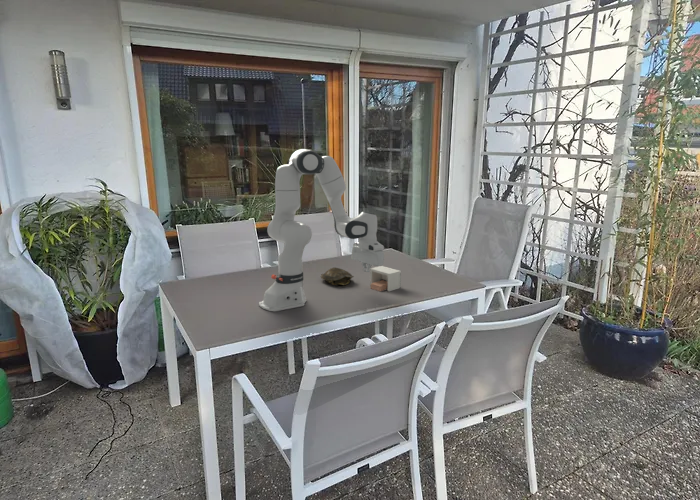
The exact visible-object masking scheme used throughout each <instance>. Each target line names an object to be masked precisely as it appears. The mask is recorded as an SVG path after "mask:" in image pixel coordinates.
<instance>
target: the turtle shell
mask: <svg viewBox="0 0 700 500" xmlns="http://www.w3.org/2000/svg"><path fill="white" fill-rule="evenodd" d="M354 277H355V276H354V275H352V274H351V273H350V272H349V271H347V270H345V269H342V268H339V267H332V268H330V269H328V270H326V271H325V272H324V273H322V274H320V279H322V280H323V281H326V282H327V283H329V284H331V285H335V286H337V285H339V286H340V285H341V286H345V285H348V284H349V283H350V282H351V279H353V278H354Z"/></svg>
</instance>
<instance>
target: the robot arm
mask: <svg viewBox="0 0 700 500" xmlns="http://www.w3.org/2000/svg"><path fill="white" fill-rule="evenodd" d="M303 175H315V176H316V178H317V179H318V182H319V185H320V186H321V189H322V191H323V193H324V195H325V197H326V200H327V203H328V205H329V207H330V211H331V213H332V216H333V219H334V220H333V221H334V224H333V225H334V227H333V228H334V230H335V233H336V234H337V235H338V236H341V237H344V238H348V239H350V240H356V239H358V241H355V242H354V243H352V249H351V260H353V261H355V262H356V261H357V262H359V263H361V266H362V268H363V269H362V271H363V272H366V273H370V269H371V267H374V266H375V267H379V266H384V263H385V252H384V250H385V246H384V245H383V244H382V243H380V242H379V241H378V238H377V232H378V217H377V214H375V213H374V212H369V211H361V212H360V213H359V214H358V215H356V216H353V217H350V216H349V215H348V214H347V212H346V210H345V207H344V205H343V201H342V196H343V194H345V191H346V188H347V187H346V182H345V179H344V176H343V174H342V172H341V169H340V168H339V166H338V164H337V162H336V161H335V159H334V158H333V156H330V155H323V156H322V155H320V154H319V153H317V151H314V150H313V149H309V148H300V149H295V150H294V151H293V152H292V153H291V154H290V156H289V158H288V159H287V162H286V164H283V165H280V166H278V167H277V169H276V171H275V178H274V179H275V180H274V189H275V190H274V191H275V192H274V194H275V199H274V200H275V208H274V213H273V217H272V220H271V221H270V222H269V223H268V225H267V230H266V232H267V235H268V236H269V237H270V238H271V239H273V240H275V241H276V242H277V243H278V242H279V243H283V250H282V252H281V253H280V254H279V255H278V256H277V257H278V258H277V263H278V266H277V267H278V273H277V275H276V274H271V277H270V278H271V279H273V280H275V281H274V282H273V284H271V286H270V287H269V288H267V289H266V290H265V292H264V295H263V300H262V301H259V302H258V304H259V307H260V308H261V309H263V310H265V311H269V312H280V311H283V310H284V311H285V310H290V309H294V308H299V307H304V306H305V303H306V302H307V300H308V299H307V297H306V294H305V289H304V288H305V287H304V272H303V255H304V250H305V248H306V246H307V245H308V244H309V243H310V242H311V240H312V237H313V231H312V228H311V227H310V226H309V225H307V224H306V223H304V222H302V221H297V220H295V215H296V212H297V211H298V210H299V209H300V208H301V188H300V182H301V178H302V176H303Z"/></svg>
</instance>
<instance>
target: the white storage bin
mask: <svg viewBox="0 0 700 500" xmlns="http://www.w3.org/2000/svg"><path fill="white" fill-rule="evenodd" d="M401 276H402V271H401V270H399V269H395V268H391V267H387V266H384V265H382V266H375V267H372V268H370V272H369V285H370V286H371V283H375V282H378V281H380V280H381V279H384V280H386V281H387V282H388V289H387V292H391V291H395V290H398V289H400V288H401V281H402V280H401V279H402V277H401Z"/></svg>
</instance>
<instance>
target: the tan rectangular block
mask: <svg viewBox="0 0 700 500" xmlns="http://www.w3.org/2000/svg"><path fill="white" fill-rule="evenodd" d="M370 289H372V290H374V291H377V292H382V291H385V290H388V282H387V281H384V280H382V281H378V282H375V283H371V285H370Z"/></svg>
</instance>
